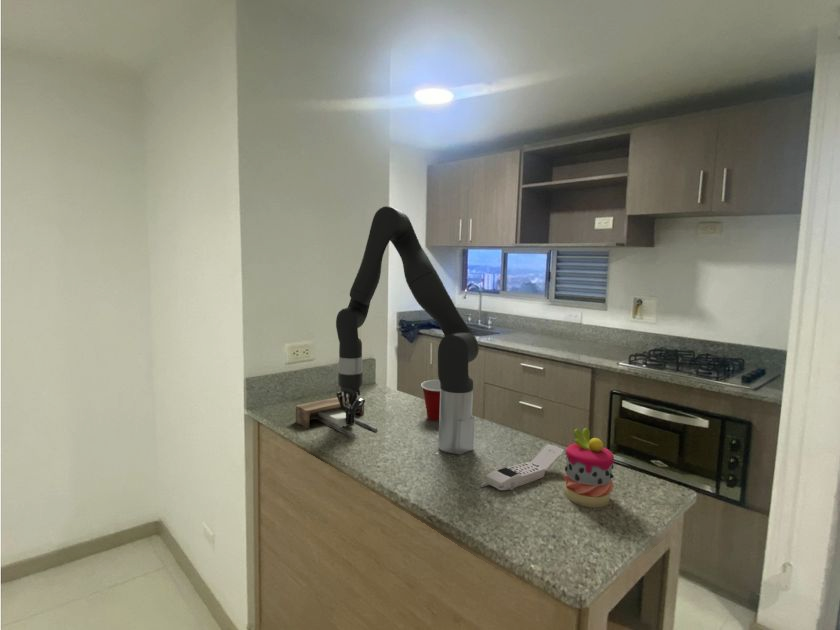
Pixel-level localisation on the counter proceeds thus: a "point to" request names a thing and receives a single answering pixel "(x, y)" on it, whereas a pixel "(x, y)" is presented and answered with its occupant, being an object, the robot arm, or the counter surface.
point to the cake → (588, 471)
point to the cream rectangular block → (334, 416)
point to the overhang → (311, 412)
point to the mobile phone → (524, 470)
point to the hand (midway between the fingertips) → (350, 424)
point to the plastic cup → (432, 398)
